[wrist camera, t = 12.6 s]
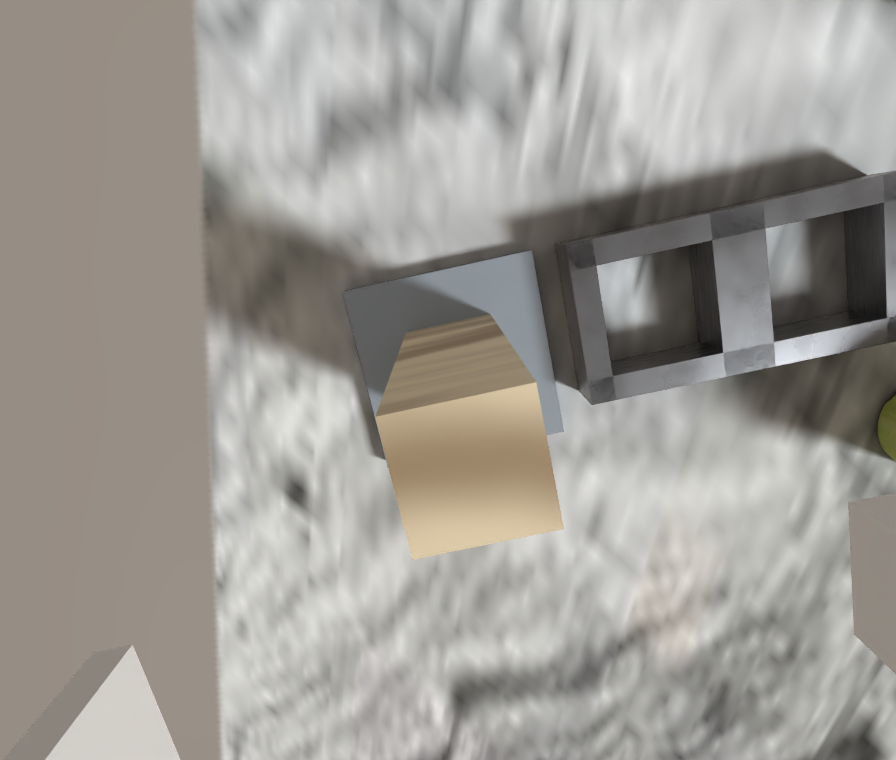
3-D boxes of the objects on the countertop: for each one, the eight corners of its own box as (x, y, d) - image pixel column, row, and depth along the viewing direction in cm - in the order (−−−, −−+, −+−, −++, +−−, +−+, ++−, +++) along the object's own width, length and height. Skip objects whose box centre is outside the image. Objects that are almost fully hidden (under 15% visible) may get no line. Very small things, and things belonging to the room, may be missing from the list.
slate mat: (345, 290, 33) (342, 292, 32) (529, 250, 33) (531, 250, 32) (389, 461, 36) (388, 468, 35) (560, 426, 35) (563, 431, 34)
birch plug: (405, 332, 33) (375, 416, 17) (490, 313, 32) (536, 382, 17) (425, 412, 34) (412, 559, 18) (506, 395, 34) (563, 528, 18)
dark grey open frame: (554, 244, 33) (566, 244, 30) (867, 175, 32) (910, 168, 29) (579, 391, 35) (591, 404, 32) (872, 329, 34) (913, 337, 31)
